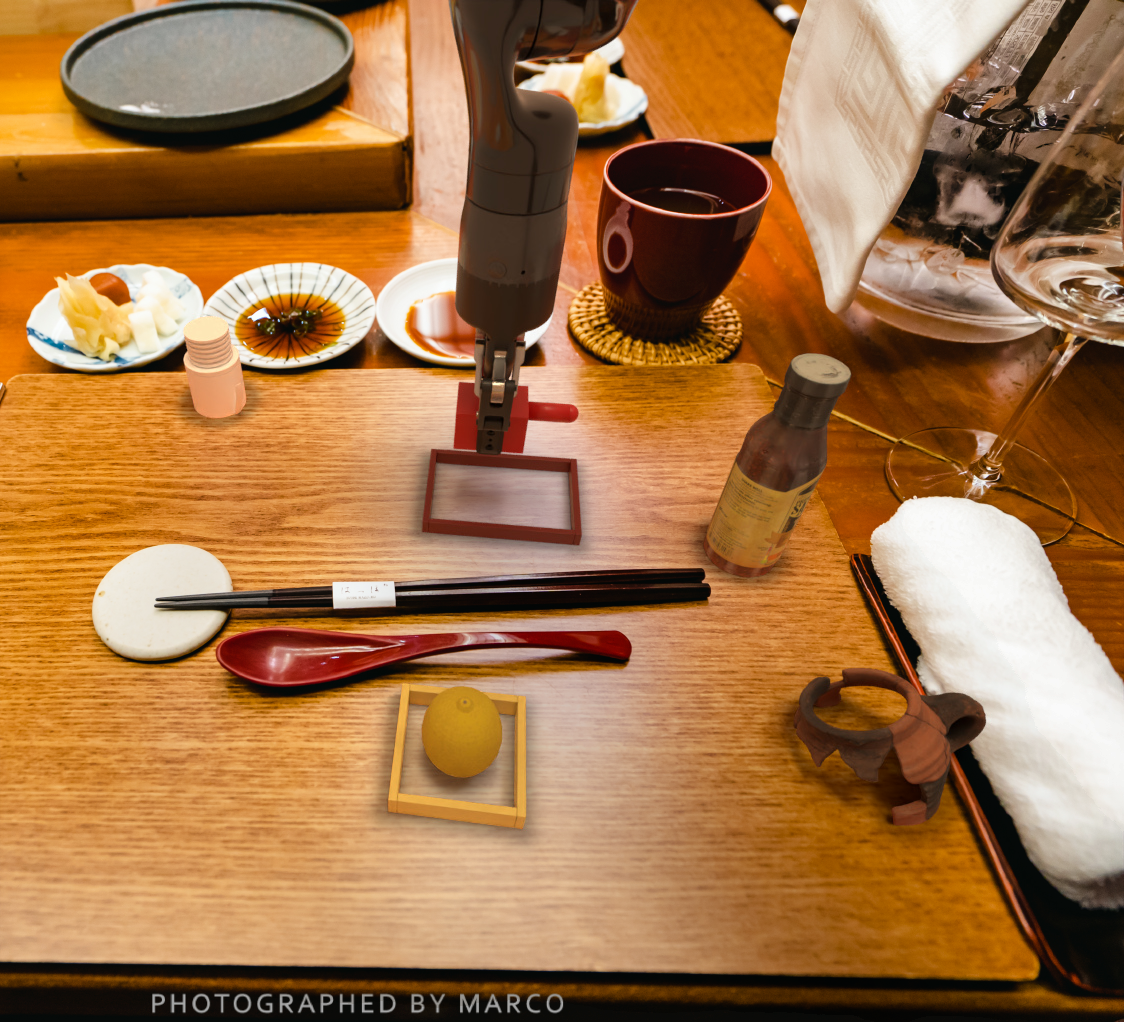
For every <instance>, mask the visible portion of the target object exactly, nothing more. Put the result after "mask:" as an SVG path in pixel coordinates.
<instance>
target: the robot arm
mask: <svg viewBox="0 0 1124 1022" xmlns="http://www.w3.org/2000/svg"><path fill="white" fill-rule="evenodd" d="M639 1H640V0H448V9H449V17H450V21H451V27H452V32H453V35H454V36H453V37H454V40H455V45H456V49H457V54H458V59H459V63H460V68H461V73H462V77H463V78H462V80H463V86H464V93H465V99H466V109H467V111H466V112H467V119H468V120H467V121H468V149H467V150H468V154H467V169H466V170H467V171H466V185H465V194H464V202H463V206H462V210H461V216H460V222H459V232H458V233H459V235H458V248H457V250H458V251H457V263H456V264H457V265H456V278H455V279H456V280H455V282H456V283H455V296H454V306H455V310H456V313H457V314H458V316H459V318H460V319H461V320H462V321H464V322H465V323H466V324H467V325H469V326H470V327H472V328H474V329H475V336H474V337H475V338H474V350H473V360H474V362H475V363H476V364H475V372H474V373H475V376H474V383H475V385H474V393H475V395H476V396H478V397H479V409H478V411H477V412H476V417H478V419H476V425H478V426H477V430H478V431H477V441H476V450H475V452H477V453H479V454H486V455H499V454H502V453H503V452H502V446H503V438H504V431H506V432H508V427H510V422H511V421H510V416H511V410H512V404H513V398H515V397H516V395H517V390H518V386H519V380H520V372H521V366H522V365H523V364H524V362H525V356H526V349H527V348H526V347H527V341H526V340H525V337H526V333H528V332H532V331H534V330H536V329H538V328H540V327H542V326H543V325H545V324H546V323H547V322H548V321H549V320H550V318H551V317H552V315H553V313H554V310H555V302H556V298H557V292H558V285H559V278H560V273H561V266H562V260H563V256H564V255H563V254H564V249H565V242H566V237H567V229H568V206H569V205H568V203H569V195H570V190H571V184H572V178H573V171H574V165H575V159H576V153H577V146H578V139H579V131H580V129H579V128H580V121H579V120H580V119H579V114H578V111H577V110H576V108H575V107H574V106H573V104H572V103H571V102H570V101H568V100H567V99H565V98H564V97H561V96H559V95H556V94H552V93H548V92H543V91H539V90H531V89H524V88H519V87H516V84H515V67H516V64H517V63H523V62H524V63H525V62H533V61H541V60H550V59H551V60H553V59H563V58H571V57H578V56H582V55H586V54H587V55H588V54H590V53H593V52H595V51H597V50H599V49H601V48H603V47H605V46H607V45H609V44H610V43H612V42H613V41H614V40H616V39H617V38H619V36H620V35H621V34H622V33H623V31H624V30H625V29H626V28H627V25H628V23H629V21H630V19H631V17H632V16H633V13H634V11H635V9H636V7H637V5H638V3H639ZM1119 197H1120V198H1119V228H1120V238H1121V246H1122V253H1123V254H1124V169H1123V170H1122V178H1121V185H1120V195H1119ZM510 377H511V379H510ZM1115 1022H1124V1018H1122V1019H1119V1020H1116V1021H1115Z"/></svg>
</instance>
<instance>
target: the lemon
mask: <svg viewBox="0 0 1124 1022" xmlns="http://www.w3.org/2000/svg"><path fill="white" fill-rule="evenodd" d="M447 688H448V689H446V690H444V691H443V692H441V693H439V694H438V695H437V696H436V697H435V698H434V699H433V700H432V702H431V703H430V705H429V706H427V708H426V710H425V712H424V715H423V718H422V723H421V743H422V745H423V748H424V752H425V754H426V756H427V757H428V759H429V761H430V762H431V764H432V765H434V766H435V767H436V768H437V769H438V770H439V771H441V772H442V773H444V774H446V775H448V776H451V777H455V778H462V779H463V778H464V779H465V778H470V777H475V776H477V775H479V774H481V773H483V772H485V771H486V770H487V769H488V768H489V767H490V766H492V764H493V763H494V761H495V760H496V758H497V757H498V755H499V753H500V749H501V746H502V743H503V723H502V719H501V714H499V712H498V710H497V708H496V706H495V705H494V703H493V702H492V700H491V699H490V698H489V697H488V696H487V695H485V694H484V693H482V692H483V691H481V690H479V689H477V688H474V687H472V686H467V685H459V686H457V685H455V686H452V687H447Z"/></svg>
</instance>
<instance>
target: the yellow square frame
mask: <svg viewBox="0 0 1124 1022" xmlns="http://www.w3.org/2000/svg"><path fill="white" fill-rule="evenodd" d="M448 688H449V687H442V686H435V685H424V684H416V683H406V682H402V684H401V691H400V698H399V706H398V707H399V708H398V715H397V722H396V723H397V724H396V731H395V740H394V749H393V757H392V766H391V772H390V773H391V774H390V782H389V788H388V789H389V790H388V799H387V812H389V813H396V814H404V815H409V816H410V815H411V816H418V817H426V818H435V819H442V820H450V821H457V822H458V821H459V822H465V823H471V824H472V823H473V824H481V825H489V826H495V827H496V826H497V827H504V828H512V829H513V828H514V829H518V830H519V829H520V830H523V829H524V826H525V822H526V819H527V696H525V695H516V694H508V693H498V692H489V691H481V692H482V693H484V694H485V695H487V696H488V697H489V698H490V699H491V700H492V702H493V703H494V705H495V706H496V708H497V710H498V712H499V715H509V716H510V715H511V716H514V774H513V776H514V777H513V778H514V781H513V782H514V786H513V789H514V790H513V792H514V793H513V806H505V805H497V804H488V803H480V802H475V801H474V802H473V801H465V800H457V799H449V798H441V797H433V796H425V795H418V794H410V793H402V792H400V788H401V780H402V770H403V763H404V753H405V744H406V735H407V725H408V717H409V709H410V705H421V706H427V707H429V705H430V703H431V702H432V700H433V699H434V698H435V697H436V696H437V695H438V694H439V693H441V692H443V691H444V690H446V689H448Z"/></svg>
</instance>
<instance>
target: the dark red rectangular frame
mask: <svg viewBox="0 0 1124 1022" xmlns="http://www.w3.org/2000/svg"><path fill="white" fill-rule="evenodd" d="M437 464H447V465H461V466H472V467H487V468H498V469H499V468H501V469H513V470H514V469H515V470H527V471H541V472H552V473H553V472H556V473H567V474H568V486H569V487H568V489H569V505H570V507H569V508H570V521H571V523H570V524H571V529H568V528H567V529H566V528H554V527H544V526H543V527H542V526H532V525H520V524H519V525H518V524H507V523H495V522H494V523H493V522H483V521H470V520H457V519H445V518H435V517H434V518H433V517H431V515H432V506H433V505H432V504H433V495H434V487H435V479H436V469H437ZM428 465H429V466H428V473H427V481H426V490H425V498H424V506H423V513H422V522H421V525H422V526H421V533H426V534H428V533H429V534H437V535H438V534H439V535H449V536H462V537H475V538H485V539H486V538H487V539H499V540H509V541H522V542H533V543H534V542H535V543H544V544H545V543H547V544H558V545H568V546H569V545H570V546H580V545H581V541H582V536H583V531H582V530H583V529H582V516H581V502H580V487H579V472H578V460H577V458H572V457H571V458H570V457H557V456H556V457H554V456H542V455H529V454H527V455H526V454H515V453H501V454H499V455H486V454H479V453H477V452H476V451H473V450H459V449H441V448H438V449H437V448H431V449H430V457H429V464H428Z"/></svg>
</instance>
